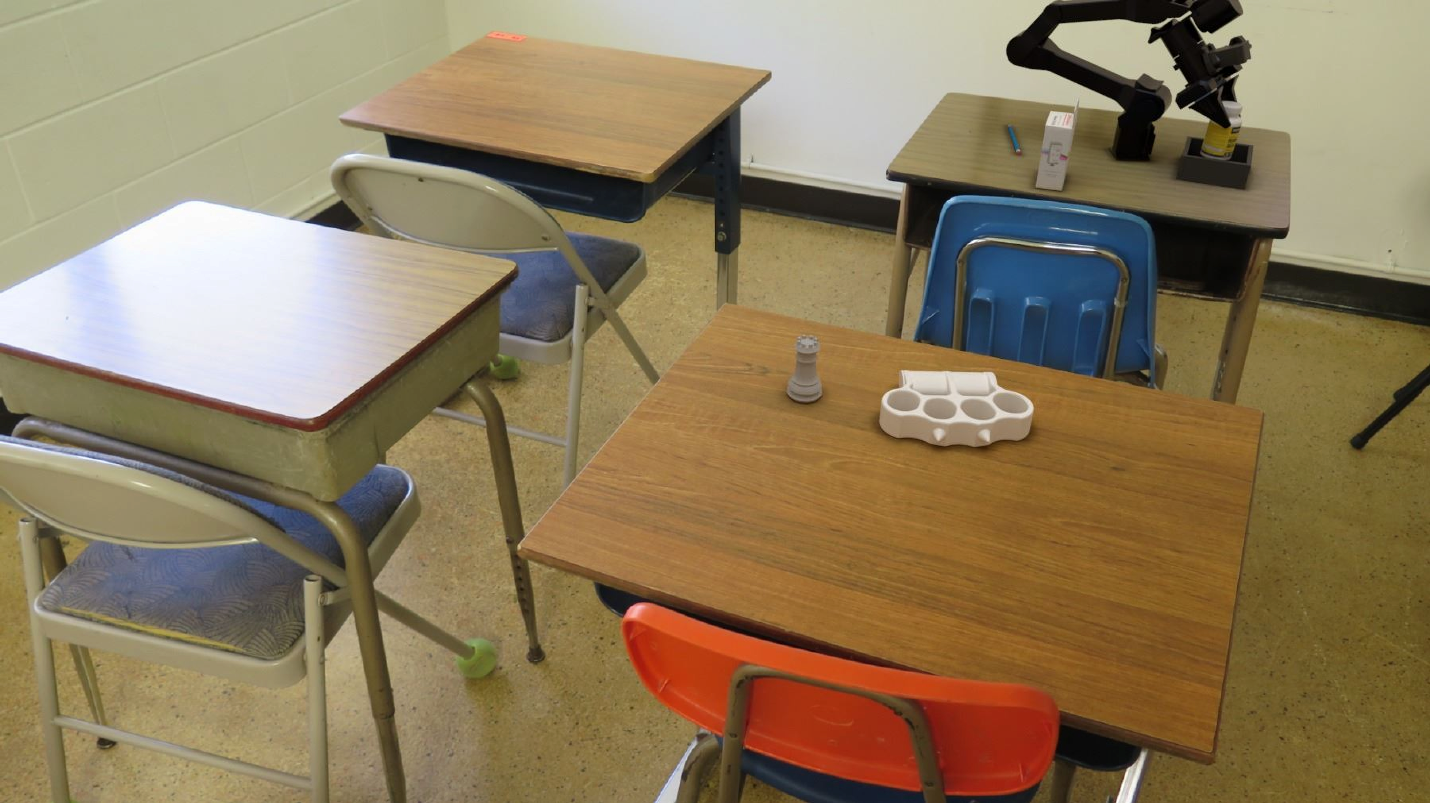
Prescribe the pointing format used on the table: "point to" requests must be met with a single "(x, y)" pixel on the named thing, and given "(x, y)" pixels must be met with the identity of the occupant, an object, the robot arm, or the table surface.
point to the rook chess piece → (805, 372)
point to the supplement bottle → (1223, 134)
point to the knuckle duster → (954, 409)
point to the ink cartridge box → (1056, 149)
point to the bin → (1215, 165)
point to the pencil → (1014, 140)
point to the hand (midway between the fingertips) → (1233, 123)
